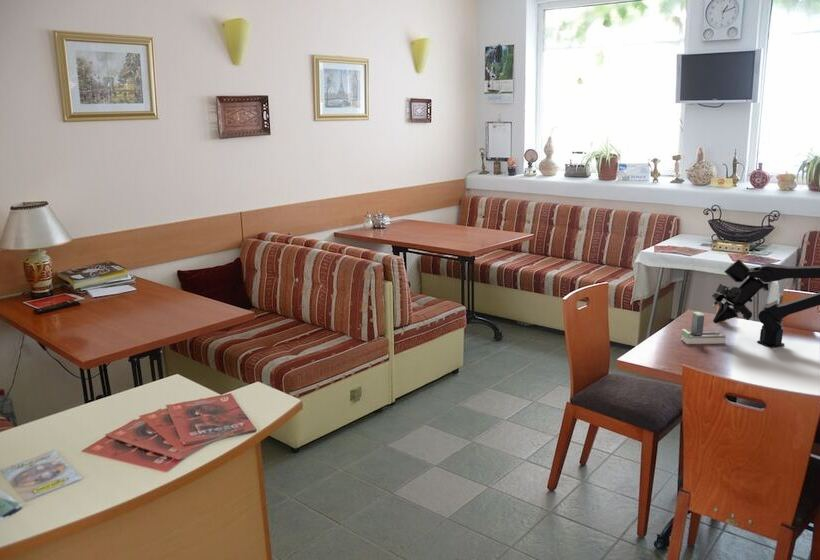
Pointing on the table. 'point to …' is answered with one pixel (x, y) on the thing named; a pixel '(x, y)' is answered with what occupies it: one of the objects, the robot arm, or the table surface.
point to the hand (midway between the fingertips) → (714, 322)
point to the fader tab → (697, 324)
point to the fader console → (702, 338)
